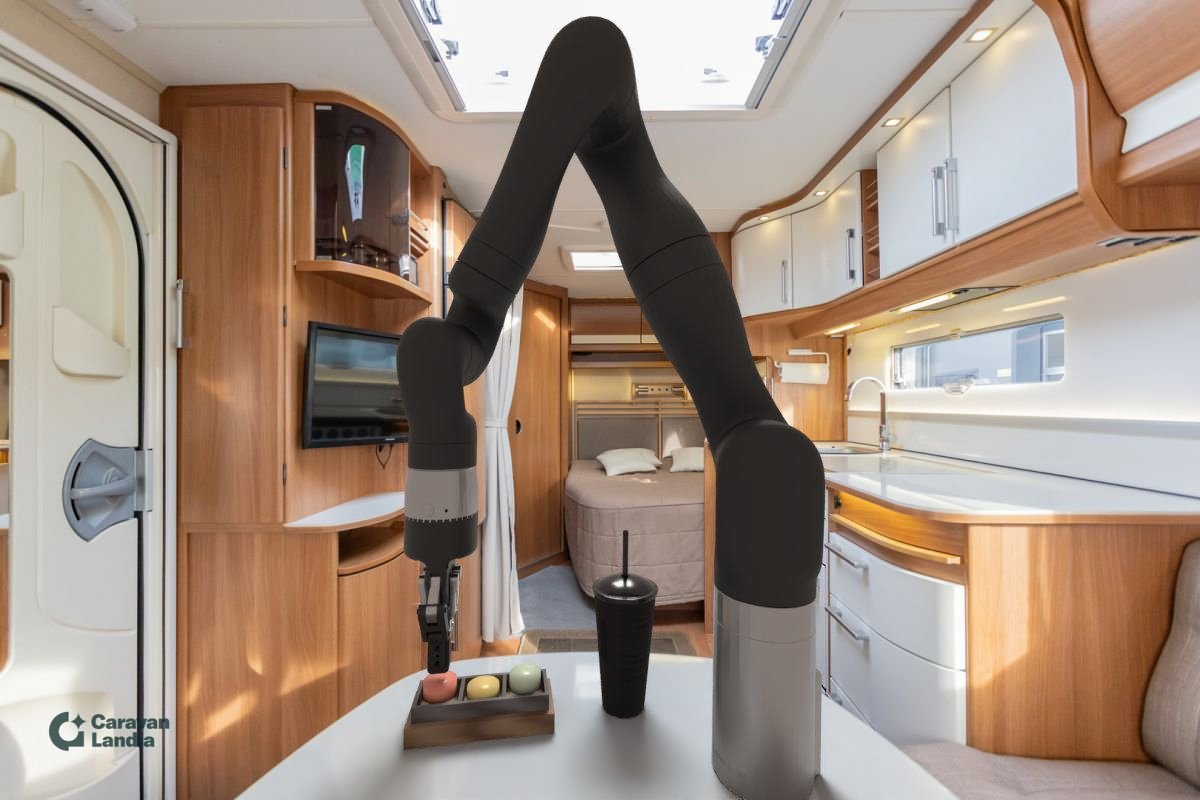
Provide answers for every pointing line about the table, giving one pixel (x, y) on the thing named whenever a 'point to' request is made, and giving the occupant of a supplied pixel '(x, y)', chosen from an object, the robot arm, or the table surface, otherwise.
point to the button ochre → (483, 688)
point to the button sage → (525, 679)
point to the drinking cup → (624, 637)
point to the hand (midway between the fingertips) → (439, 669)
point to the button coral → (439, 687)
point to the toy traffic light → (479, 715)
